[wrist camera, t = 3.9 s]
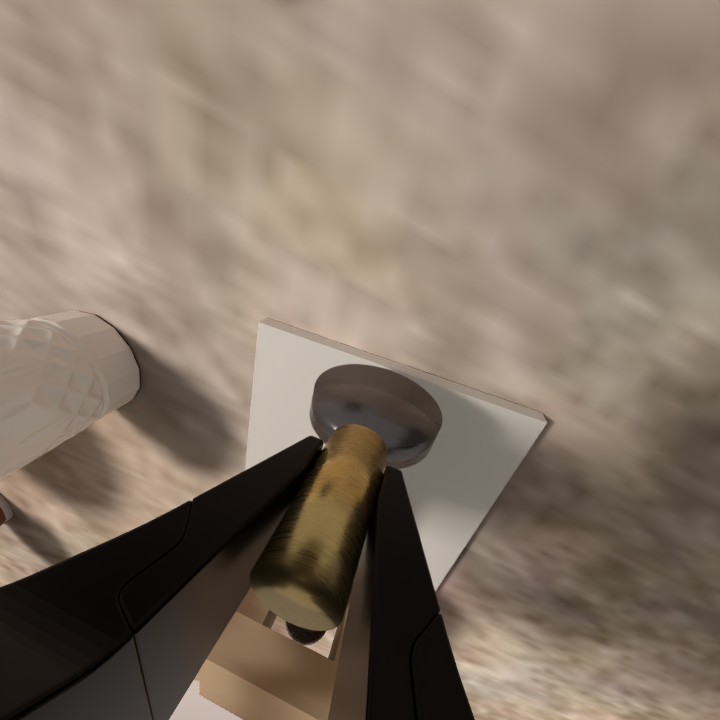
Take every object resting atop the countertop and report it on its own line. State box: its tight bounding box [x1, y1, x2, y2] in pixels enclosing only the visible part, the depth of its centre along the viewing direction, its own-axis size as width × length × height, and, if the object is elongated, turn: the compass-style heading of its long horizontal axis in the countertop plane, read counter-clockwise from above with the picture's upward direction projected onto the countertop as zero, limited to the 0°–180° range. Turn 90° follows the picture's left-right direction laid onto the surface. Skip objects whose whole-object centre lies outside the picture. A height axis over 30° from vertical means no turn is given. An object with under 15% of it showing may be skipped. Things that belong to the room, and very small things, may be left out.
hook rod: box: [250, 364, 443, 645], centre depth 13 cm, size 5×18×9 cm, turn 166°
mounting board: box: [245, 318, 547, 591], centre depth 19 cm, size 14×20×1 cm
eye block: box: [200, 585, 353, 720], centre depth 18 cm, size 8×5×8 cm, turn 76°
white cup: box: [0, 311, 140, 480], centre depth 16 cm, size 8×8×10 cm
